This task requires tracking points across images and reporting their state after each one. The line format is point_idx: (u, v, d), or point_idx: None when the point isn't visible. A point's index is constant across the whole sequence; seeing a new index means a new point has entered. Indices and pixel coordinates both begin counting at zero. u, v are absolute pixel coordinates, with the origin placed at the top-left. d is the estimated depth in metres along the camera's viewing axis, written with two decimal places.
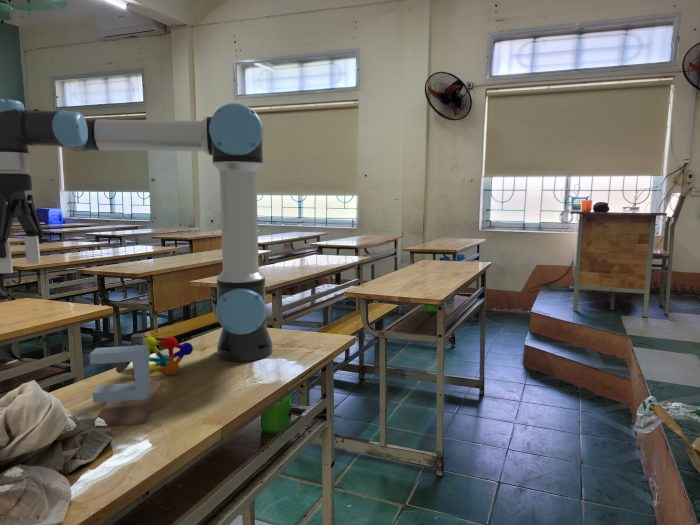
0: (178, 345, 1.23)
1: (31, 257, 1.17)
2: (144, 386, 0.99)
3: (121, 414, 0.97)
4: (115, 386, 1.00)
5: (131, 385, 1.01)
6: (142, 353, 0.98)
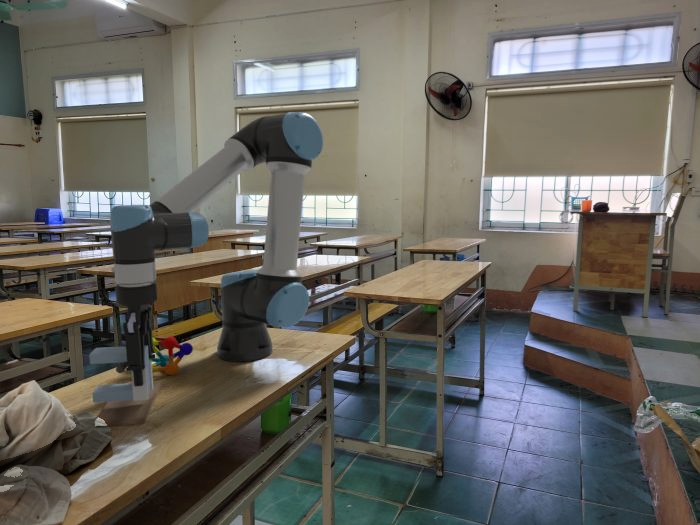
0: (178, 345, 1.23)
1: None
2: None
3: (121, 414, 0.97)
4: (114, 386, 1.00)
5: (131, 385, 1.01)
6: None
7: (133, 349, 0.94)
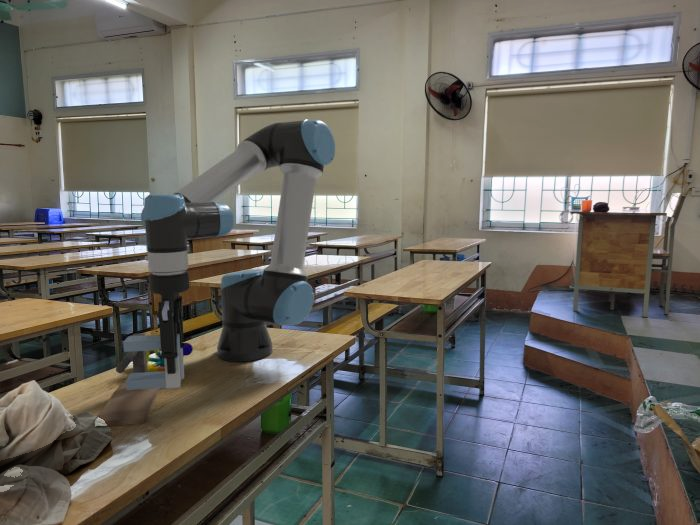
0: None
1: None
2: None
3: (121, 414, 0.97)
4: (147, 374, 1.01)
5: (163, 373, 1.02)
6: None
7: (167, 337, 0.94)
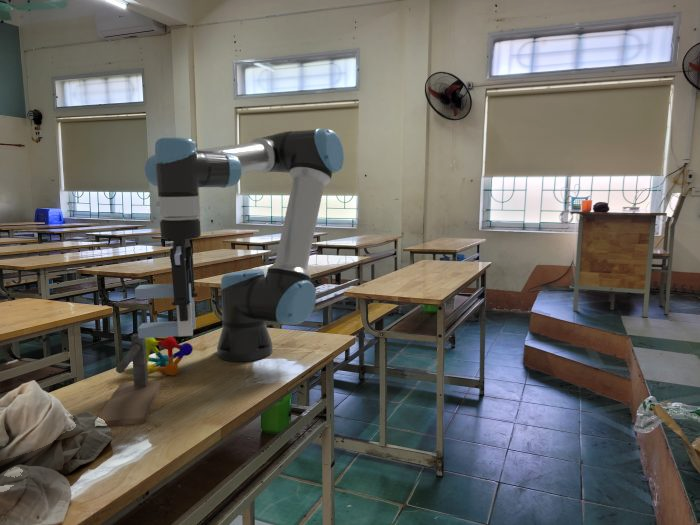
0: (177, 345, 1.22)
1: None
2: None
3: (121, 414, 0.97)
4: (158, 323, 1.00)
5: (175, 323, 1.01)
6: None
7: (179, 282, 0.93)
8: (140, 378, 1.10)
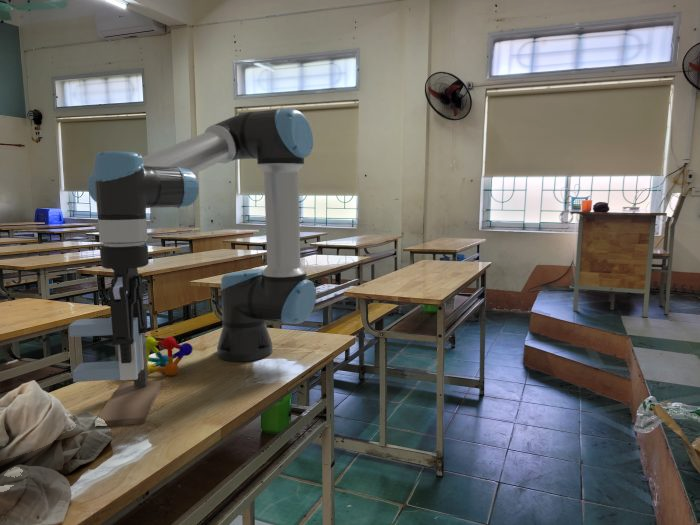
0: (177, 345, 1.22)
1: None
2: None
3: (121, 414, 0.97)
4: (99, 364, 0.87)
5: (118, 363, 0.87)
6: None
7: (119, 319, 0.80)
8: (140, 378, 1.10)
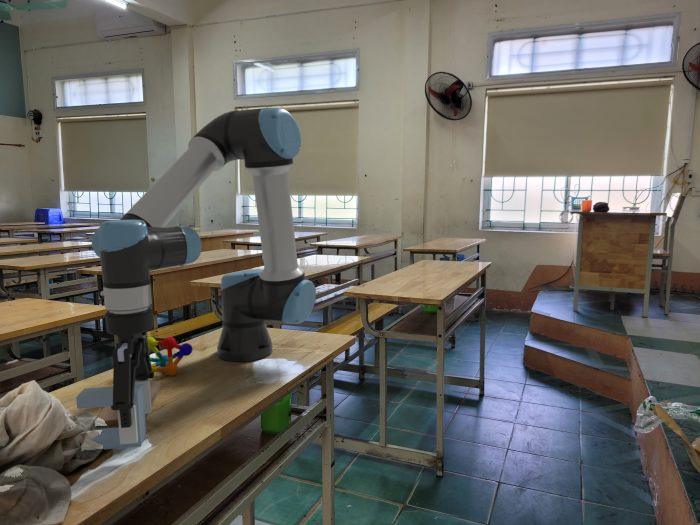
0: (177, 346, 1.22)
1: None
2: (138, 432, 0.87)
3: None
4: (105, 431, 0.89)
5: None
6: (136, 395, 0.86)
7: (121, 382, 0.80)
8: None
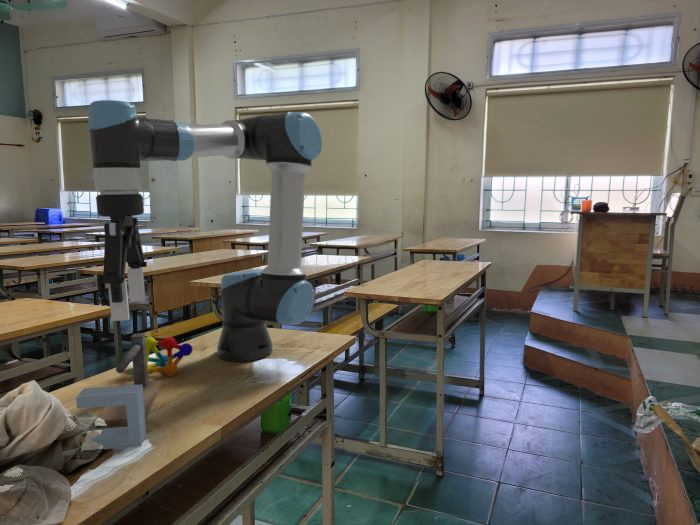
0: (177, 346, 1.22)
1: (135, 294, 0.96)
2: (138, 432, 0.87)
3: (121, 414, 0.97)
4: (105, 431, 0.89)
5: (124, 430, 0.89)
6: (136, 395, 0.86)
7: (112, 254, 0.80)
8: (140, 378, 1.10)
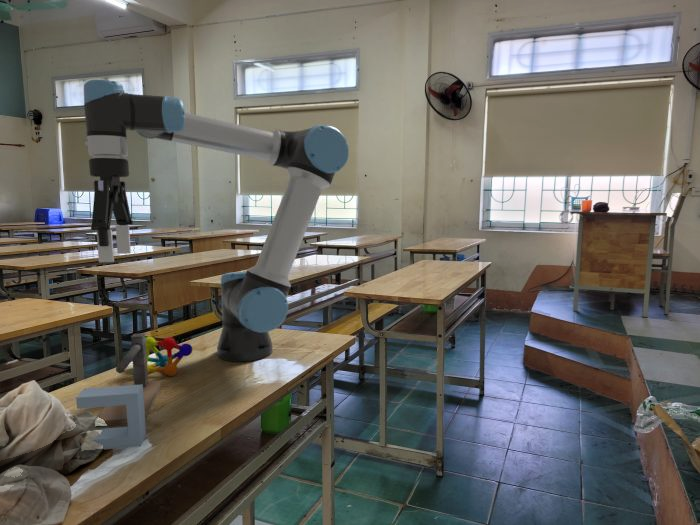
0: (177, 346, 1.22)
1: (122, 247, 1.13)
2: (138, 432, 0.87)
3: (121, 414, 0.97)
4: (105, 431, 0.89)
5: (124, 430, 0.89)
6: (136, 395, 0.86)
7: (100, 205, 0.97)
8: (140, 378, 1.10)
